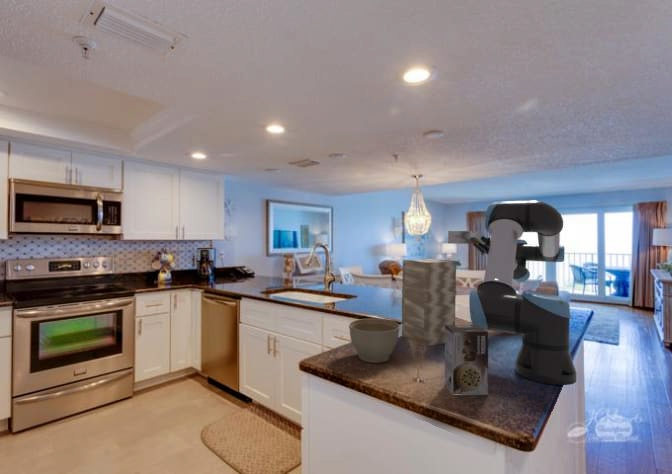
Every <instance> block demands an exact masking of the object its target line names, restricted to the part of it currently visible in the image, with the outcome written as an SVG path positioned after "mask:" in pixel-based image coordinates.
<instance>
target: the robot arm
mask: <svg viewBox="0 0 672 474" xmlns="http://www.w3.org/2000/svg"><path fill="white" fill-rule="evenodd" d="M485 211H486V212H485V215H484V216H485V218H484V228H485V230H486V231H487V232H488V234H489V236H490V237H485V236H484V235H483V234H482V233H481V232H479V230H475V233H474V232H473V230H470V237H475V238H476V239H477V240H478V241H480V242H481V243H482V244H472V246H473V247H474V248H475V249H477V251H478V252H479V253H480V254H481V255H482V256H484V255H487V258H486V259H487V260H486V266H485V271H484V277H483V281H481V282H480V283H478V286H477V289H474V290H471V291H470V293H469V298H468V299H469V304H468V305H469V316H470V320H471V325H479V326H480V327H482V328H483V329H484V330H486V331H494V332H500V333H508V334H514V335H515V334H516V335H521V337H522V338H521V339H522V340H521V342H522V343H521V345H520V349H519V351H518V353H517V356H516V358H515V361H514V362H515V363H514V364H515V365H514V369H515V372H516V373H517V374H518V375H520V376H522V377H524V378H526V379H528V380H532V381H535V382H538V383H541V384H546V383H547V385H555V386H570V385H573V384H575V383H576V382H577V371H576V368H575V364H574V362H573V358H572V356H571V353H570V319H571V317H572V315H571V311H570V310H571V309H570V308H571V307H570V303H569V301H568V300H567V299H565V298H564V297H562V296H559V295H555V294H552V293H548V292H543V291H537V290H527V289H526V290H523V292H522V294H517V290H516V289H515V287H513V282H514V281H515V282H516V283H521V284H522V283H524V282H527V281H528V280H529V279H530V277H531V272H530V271H529V269H528V268H527V261H529V262H543V263H544V262H546V263H563V262H564V261H565V246H564V245H562V244H561V245H560V241H561V240H560V239H561V234H560V233H561V231H563V228H564V220H563V216H562V214H561V213H560V211H558V210H557V209H556V208H555V207H553V206H552V205H550V204H548V203H546V202H545V201H539V200H513V201H512V200H511V201H510V200H509V201H507V200H505V201H503V200H501V201H495V202H491V203H490V204H489V205H488V206H487V208H486V210H485ZM523 233H537V240H538V244H529V243H528V242H527V241H526V240H525V239H521V237H522V236H523V235H524V234H523ZM486 238H488V239H486Z"/></svg>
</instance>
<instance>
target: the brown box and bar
mask: <svg viewBox="0 0 672 474" xmlns="http://www.w3.org/2000/svg"><path fill="white" fill-rule="evenodd" d="M470 231H471V230H470ZM470 231H469V230H468V231H466V230H448V231H447V234H448V235H447V244H457V245H458V244H459V245H460V244H467V245H468V244H472V245H473V244H482V243H481V242H480V241H478V240H477V239H476V238H475V237H470ZM485 238H486V239H488V238H489V237H485Z"/></svg>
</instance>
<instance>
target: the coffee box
mask: <svg viewBox="0 0 672 474" xmlns="http://www.w3.org/2000/svg"><path fill="white" fill-rule="evenodd" d="M445 385H446V386H445ZM444 386H445V388H446V389H447V388H448V389H449V390H450V391H451V392H450V391H449V390H448V389H447V390H448V391H449V392H450V394H451V393H452V394H469V395H468V396H488V395H489V330H486V329H483V328H482V327H480V326H479V325H473V324H455V325H445V343H444ZM452 394H451V395H452Z"/></svg>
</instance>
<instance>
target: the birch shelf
mask: <svg viewBox="0 0 672 474" xmlns="http://www.w3.org/2000/svg"><path fill="white" fill-rule="evenodd" d="M460 265H461V261H459V260H448V259H438V258H424V259H423V258H422V259H419V258H418V259H402V290H401V291H402V295H401V296H402V297H401V300H402V301H401V337H404V338H406V339H408V340H410V341H412V342H415V343H416V344H417V343H418V344H420V345H422V346H425V347H430V346H436V345H441V344H445V325H456V296H457V295H456V293H457V291H456V288H457V287H456V286H457V285H456V284H457V266H460Z"/></svg>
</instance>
